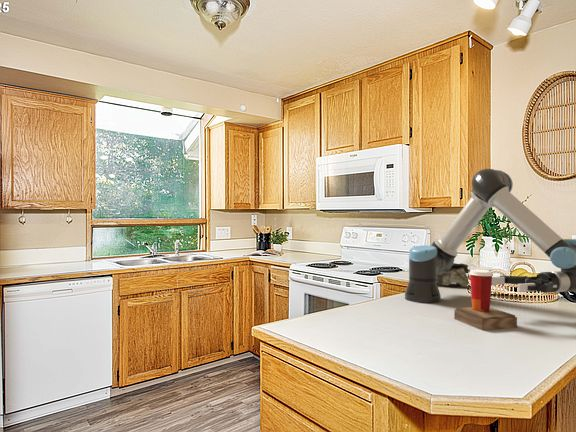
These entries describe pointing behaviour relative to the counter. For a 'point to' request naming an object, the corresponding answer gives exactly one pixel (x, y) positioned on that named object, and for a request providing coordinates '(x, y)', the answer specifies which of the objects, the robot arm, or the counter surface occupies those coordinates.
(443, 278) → the hollow geode rock
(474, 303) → the paper cup
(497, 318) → the walnut plinth
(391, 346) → the counter surface
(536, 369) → the counter surface
